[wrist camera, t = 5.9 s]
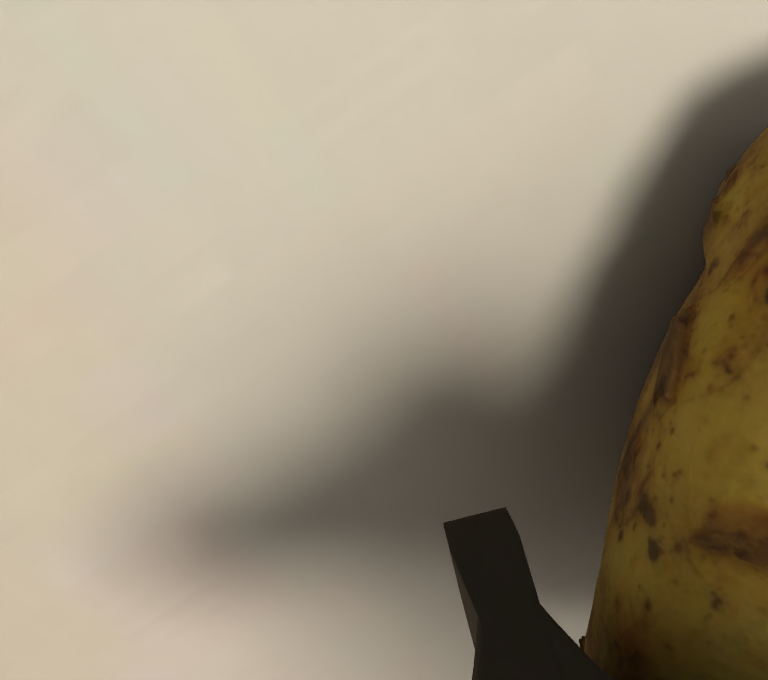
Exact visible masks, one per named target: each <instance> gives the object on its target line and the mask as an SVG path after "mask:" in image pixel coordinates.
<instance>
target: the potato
mask: <svg viewBox="0 0 768 680" xmlns="http://www.w3.org/2000/svg"><path fill="white" fill-rule="evenodd" d="M702 234H703V248H704V256H705V259H706V265H705V268H704V269H703V271H702V272H701V274H700V277H699V280H698V282H697V284H696V285H695V287H694V288H693V290H692V291H691V293H690V294H689V295H688V297H687V298H686V300H685V301H684V303H683V305H682V306H681V308H680V310H679V312H678V313H677V315H676V316H674V317H673V318H672V319H671V320H670V324H669V328H668V331H667V334H666V336H665V338H664V340H663V342H662V344H661V346H660V348H659V350H658V353H657V355H656V357H655V360H654V362H653V364H652V367H651V369H650V372H649V374H648V377H647V379H646V381H645V384H644V386H643V388H642V391H641V393H640V396H639V399H638V403H637V407H636V410H635V411H634V414H633V418H632V422H631V425H630V427H629V430H628V433H627V437H626V441H625V445H624V449H623V452H622V456H621V460H620V463H619V467H618V471H617V474H616V478H615V484H614V490H613V495H612V501H611V506H610V511H609V516H608V522H607V528H606V534H605V541H604V547H603V553H602V560H601V565H600V570H599V574H598V579H597V583H596V588H595V593H594V600H593V605H592V610H591V615H590V619H589V624H588V628H587V633H586V636H585V637H584V636H582V638H581V639H579V643H580V648H581V649H582V650H583V651H584V652H585V653H586V654H587V655H588V656H589V657H590V658H591V659H592V660H593V661H594V662H595V663H596V664H597V665H598V666H599V667H600V668H601V669H602V670H603V671H604V672H606V673H607V674H608V675H609V676H610V677H611V678H612V679H613V680H768V127H767V128H766V129H765V130H764V131H763V132H762V133H761V135H760V136H759V137H758V138H757V139H756V140H755V141H754V142H753V143H752V144H751V145H750V147H749V148H748V149H747V150H746V151H745V153H744V154H743V155H742V157H741V158H740V159H739V161H738V162H737V163H736V164H735V165H734V166H733V167H732V168H731V169H730V170H729V171H728V172H727V174H726V178H725V179H724V180H723V182H722V183H721V185H720V186H719V191H718V195H717V197H716V198H715V199H714V200H713V201H712V207H711V211H710V213H709V215H708V217H707V219H706V222H705V225H704V229H703V232H702Z"/></svg>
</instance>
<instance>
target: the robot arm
mask: <svg viewBox="0 0 768 680" xmlns="http://www.w3.org/2000/svg"><path fill="white" fill-rule="evenodd" d="M443 525H444V529H445V533H446V537H447V541H448V545H449V549H450V553H451V557H452V562H453V566H454V570H455V574H456V578H457V582H458V586H459V590H460V594H461V598H462V602H463V606H464V609H465V613H466V617H467V621H468V625H469V629H470V632H471V636H472V640H473V644H474V647H475V658H474V667H473V675H472V680H613V679H612V678H611V677H610V676H609V675H608V674H607V673H606V672H604V671H603V670H602V669H601V668H600V667H599V666H598V665H597V664H596V663H595V662H594V661H593V660H592V659H591V658H590V657H589V656H588V655H587V654H586V653H585V652H584V651H583V650H582V649H581V648H580V647H579V646H578V645H577V644H576V643H575V642H574V641H573V640H572V639H571V638H570V637H569V636H568V635H567V634H566V632H565V631H564V630H563V629H562V628H561V627H560V626H559V625H558V624H557V623H556V622H555V620H554V619H553V618H552V617H551V616H550V615H549V614H548V613H547V612H546V610H545V609H544V608H543V607H542V606H541V605H540V603H539V600H538V597H537V593H536V590H535V586H534V583H533V580H532V576H531V573H530V569H529V566H528V563H527V559H526V556H525V553H524V549H523V546H522V542H521V539H520V536H519V533H518V531H517V529H516V527H515V525H514V523H513V521H512V519H511V517H510V515H509V513H508V511H507V509H506V507H504V508H500V509H496V510H492V511H488V512H484V513H480V514H476V515H472V516H468V517H464V518H460V519H456V520H452V521H448V522H444V523H443Z"/></svg>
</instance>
